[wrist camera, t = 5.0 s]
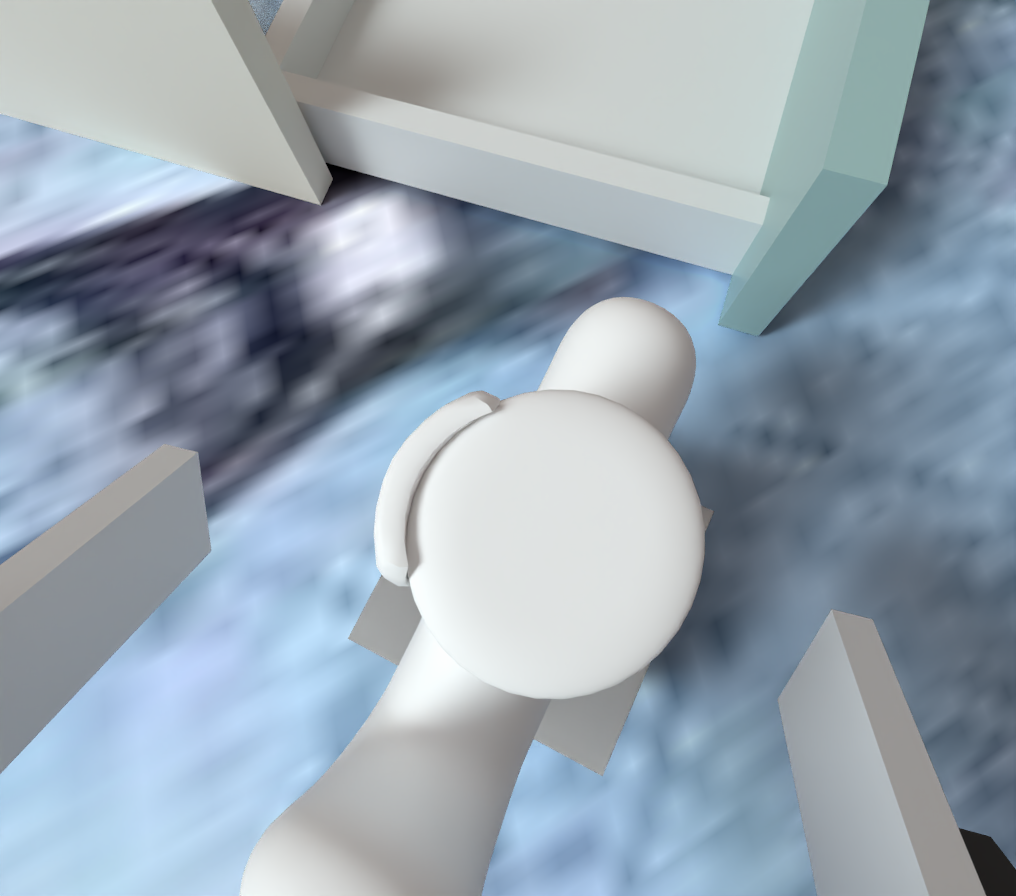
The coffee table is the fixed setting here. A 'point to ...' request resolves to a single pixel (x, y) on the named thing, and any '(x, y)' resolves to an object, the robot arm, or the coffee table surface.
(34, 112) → the cubby
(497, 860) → the coffee table surface
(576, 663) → the figurine
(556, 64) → the tray
